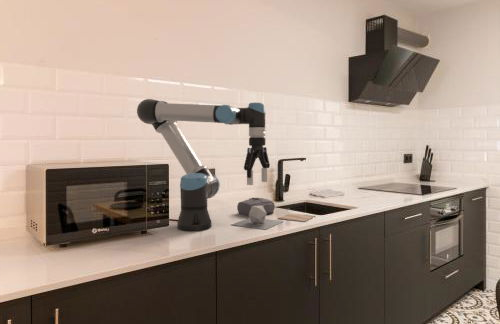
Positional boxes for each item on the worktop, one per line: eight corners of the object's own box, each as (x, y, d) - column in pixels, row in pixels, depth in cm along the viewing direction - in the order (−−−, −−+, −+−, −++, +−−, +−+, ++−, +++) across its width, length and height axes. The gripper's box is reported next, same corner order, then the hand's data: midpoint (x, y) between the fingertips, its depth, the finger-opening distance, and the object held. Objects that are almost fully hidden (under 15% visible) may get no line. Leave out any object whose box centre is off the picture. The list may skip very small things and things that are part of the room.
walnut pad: (304, 222, 175) (304, 221, 175) (277, 218, 182) (277, 218, 182) (315, 216, 187) (315, 215, 187) (289, 213, 194) (289, 213, 194)
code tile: (265, 229, 161) (265, 229, 161) (230, 225, 170) (230, 224, 170) (283, 221, 176) (283, 221, 176) (250, 217, 185) (250, 217, 185)
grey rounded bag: (251, 218, 185) (281, 213, 198) (251, 201, 185) (281, 197, 197) (233, 213, 197) (262, 208, 209) (233, 197, 196) (262, 194, 209)
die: (260, 227, 167) (271, 208, 170) (244, 217, 168) (255, 199, 171) (260, 229, 175) (270, 212, 177) (244, 220, 176) (254, 202, 179)
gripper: (250, 136, 158) (250, 186, 159) (276, 136, 180) (276, 180, 181) (235, 137, 162) (236, 185, 163) (262, 137, 183) (263, 180, 185)
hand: (257, 183), depth 172 cm, fingers open, 13 cm apart
